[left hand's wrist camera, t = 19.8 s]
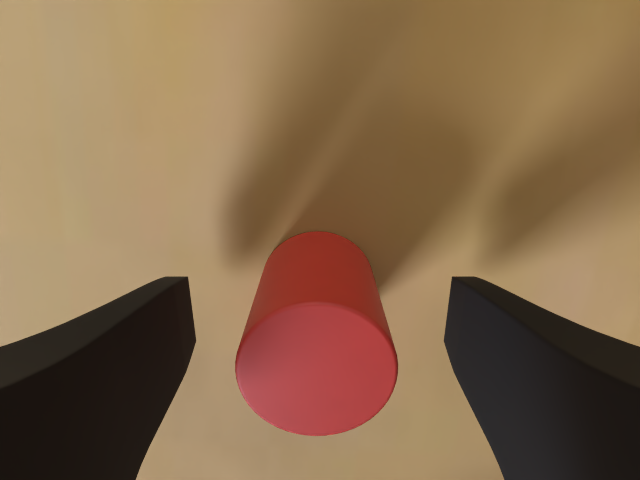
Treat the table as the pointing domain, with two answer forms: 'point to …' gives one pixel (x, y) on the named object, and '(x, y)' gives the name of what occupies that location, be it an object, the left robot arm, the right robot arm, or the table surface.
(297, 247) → the canister
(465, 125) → the table surface
